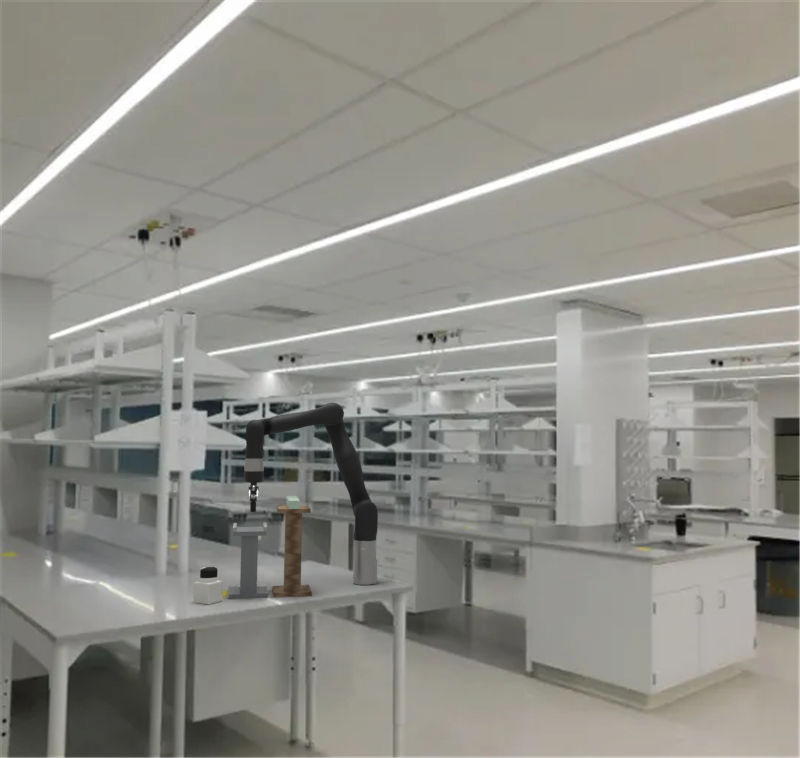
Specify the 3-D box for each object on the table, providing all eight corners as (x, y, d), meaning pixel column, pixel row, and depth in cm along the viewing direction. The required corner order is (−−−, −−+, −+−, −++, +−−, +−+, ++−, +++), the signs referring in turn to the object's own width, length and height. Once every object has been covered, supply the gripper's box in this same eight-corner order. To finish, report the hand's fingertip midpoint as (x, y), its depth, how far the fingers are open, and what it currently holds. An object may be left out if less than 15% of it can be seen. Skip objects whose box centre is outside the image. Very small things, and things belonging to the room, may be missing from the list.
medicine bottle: (222, 601, 263) (223, 566, 264) (207, 604, 257) (208, 569, 258) (207, 598, 267) (208, 565, 268) (193, 602, 260) (194, 567, 262)
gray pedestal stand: (267, 589, 284) (268, 522, 287) (267, 598, 269) (269, 527, 271) (229, 590, 282) (231, 523, 284) (228, 599, 266) (230, 527, 268)
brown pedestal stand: (308, 588, 287) (310, 505, 290) (311, 596, 272) (313, 508, 275) (272, 589, 285) (274, 505, 288) (273, 597, 269) (275, 509, 272)
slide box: (296, 503, 299) (296, 495, 299) (299, 508, 274) (299, 500, 274) (286, 503, 298) (286, 495, 299) (288, 509, 273) (289, 500, 273)
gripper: (263, 470, 288) (262, 512, 286) (263, 469, 302) (262, 509, 300) (244, 470, 286) (243, 513, 285) (244, 469, 300) (243, 509, 299)
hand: (253, 511), depth 292 cm, fingers open, 8 cm apart
